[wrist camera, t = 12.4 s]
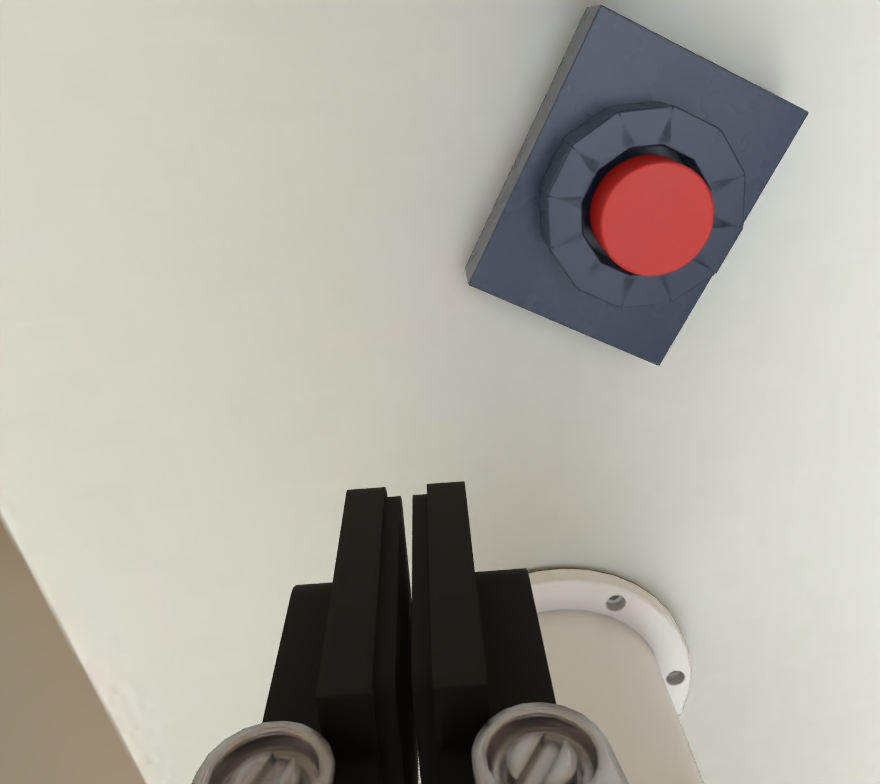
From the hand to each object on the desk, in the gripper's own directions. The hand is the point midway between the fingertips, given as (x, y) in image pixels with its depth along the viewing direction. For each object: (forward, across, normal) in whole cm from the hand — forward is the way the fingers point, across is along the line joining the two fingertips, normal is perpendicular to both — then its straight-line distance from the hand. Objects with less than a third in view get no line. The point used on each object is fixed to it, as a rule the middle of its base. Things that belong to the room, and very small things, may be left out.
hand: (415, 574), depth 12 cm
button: (+17, -8, -1) cm, 19 cm away
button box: (+21, -8, -1) cm, 22 cm away
